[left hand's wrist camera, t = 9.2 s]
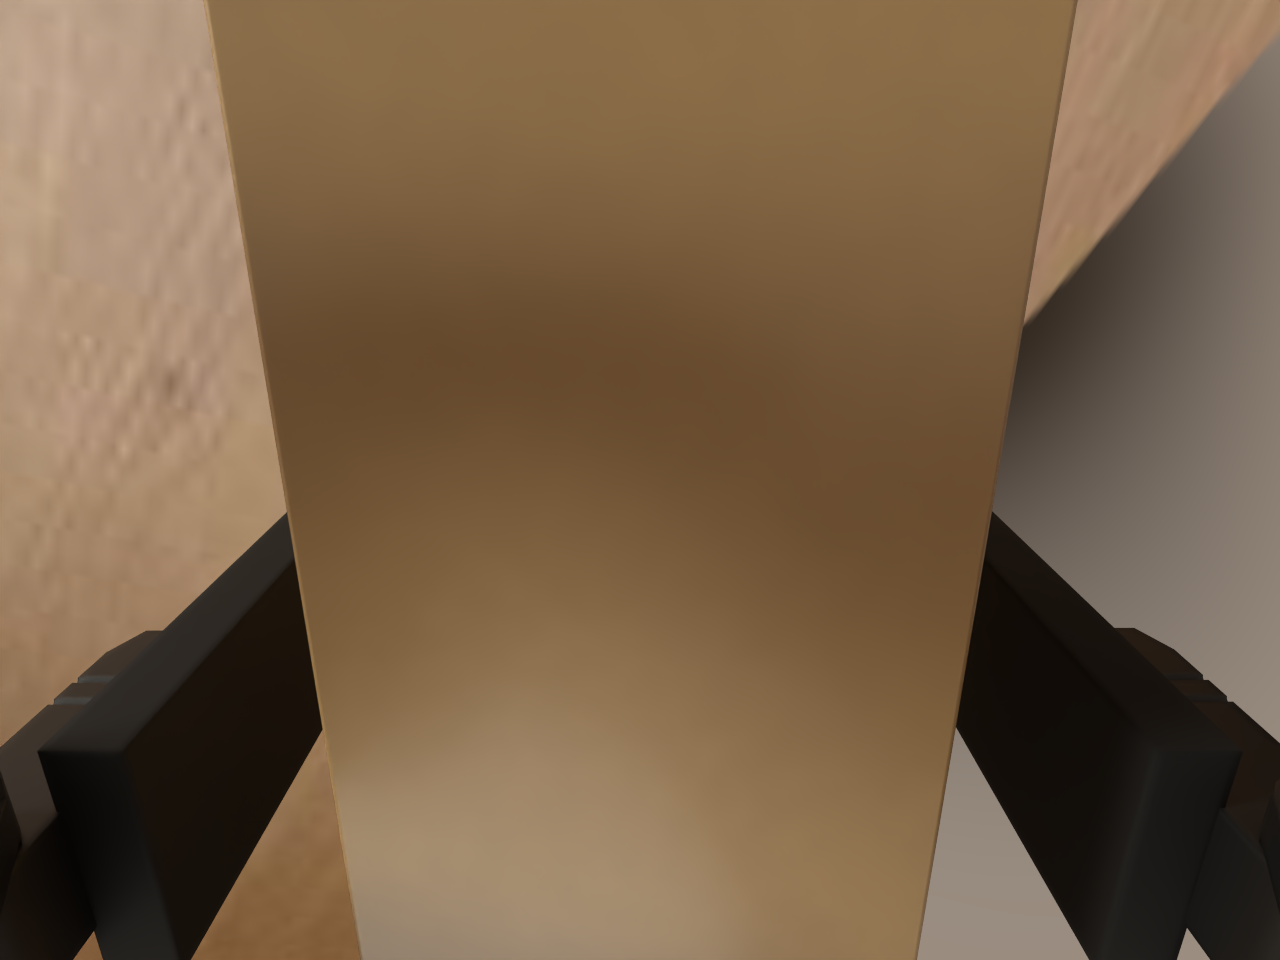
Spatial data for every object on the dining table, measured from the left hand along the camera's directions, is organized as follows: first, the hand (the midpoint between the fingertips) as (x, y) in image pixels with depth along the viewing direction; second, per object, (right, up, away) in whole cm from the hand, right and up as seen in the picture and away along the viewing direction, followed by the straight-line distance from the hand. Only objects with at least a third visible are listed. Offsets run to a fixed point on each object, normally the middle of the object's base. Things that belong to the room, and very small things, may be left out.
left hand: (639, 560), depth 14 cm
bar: (0, +8, -2) cm, 8 cm away
